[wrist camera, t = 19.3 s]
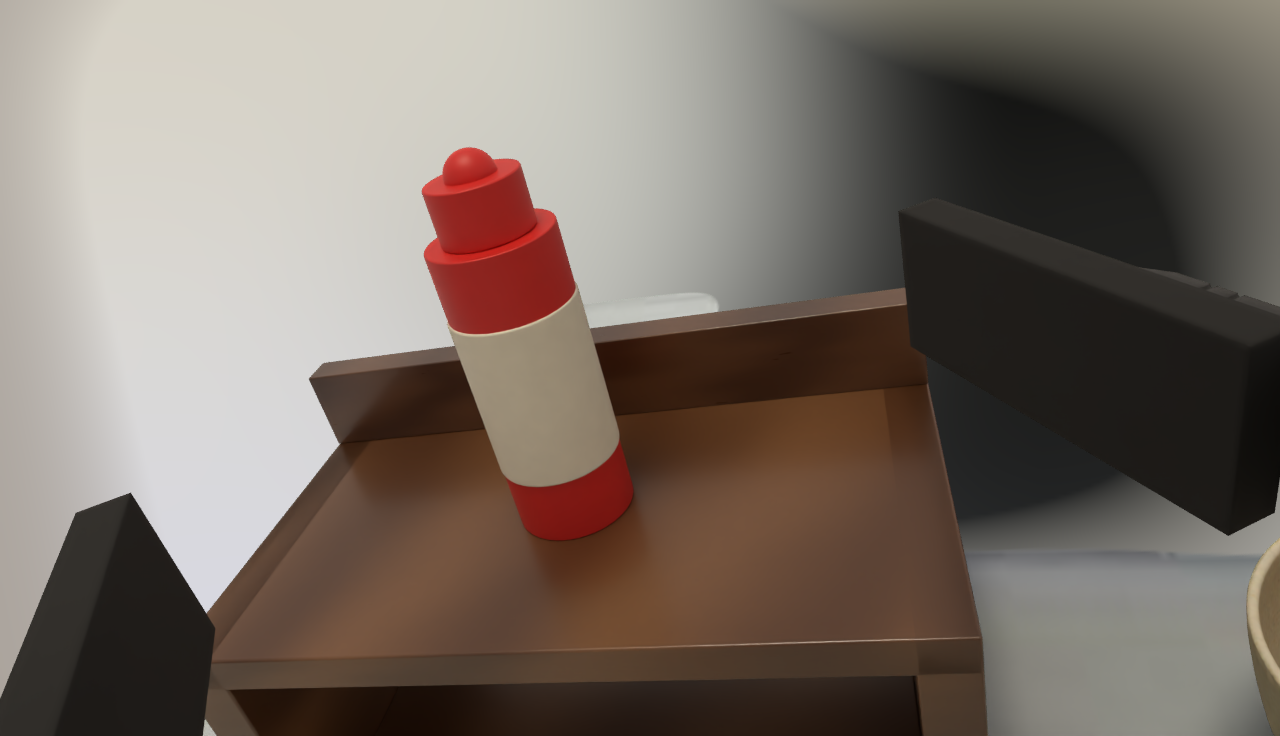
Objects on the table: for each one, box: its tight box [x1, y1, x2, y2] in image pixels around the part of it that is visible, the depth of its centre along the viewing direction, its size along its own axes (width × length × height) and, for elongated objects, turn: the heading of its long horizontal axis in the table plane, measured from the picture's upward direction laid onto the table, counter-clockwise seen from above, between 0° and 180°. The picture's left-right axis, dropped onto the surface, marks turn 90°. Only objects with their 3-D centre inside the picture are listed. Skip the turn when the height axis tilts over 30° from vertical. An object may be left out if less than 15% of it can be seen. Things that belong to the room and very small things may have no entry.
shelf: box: [205, 288, 988, 736], centre depth 29 cm, size 22×12×12 cm, turn 81°
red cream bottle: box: [422, 148, 633, 541], centre depth 25 cm, size 4×4×11 cm
